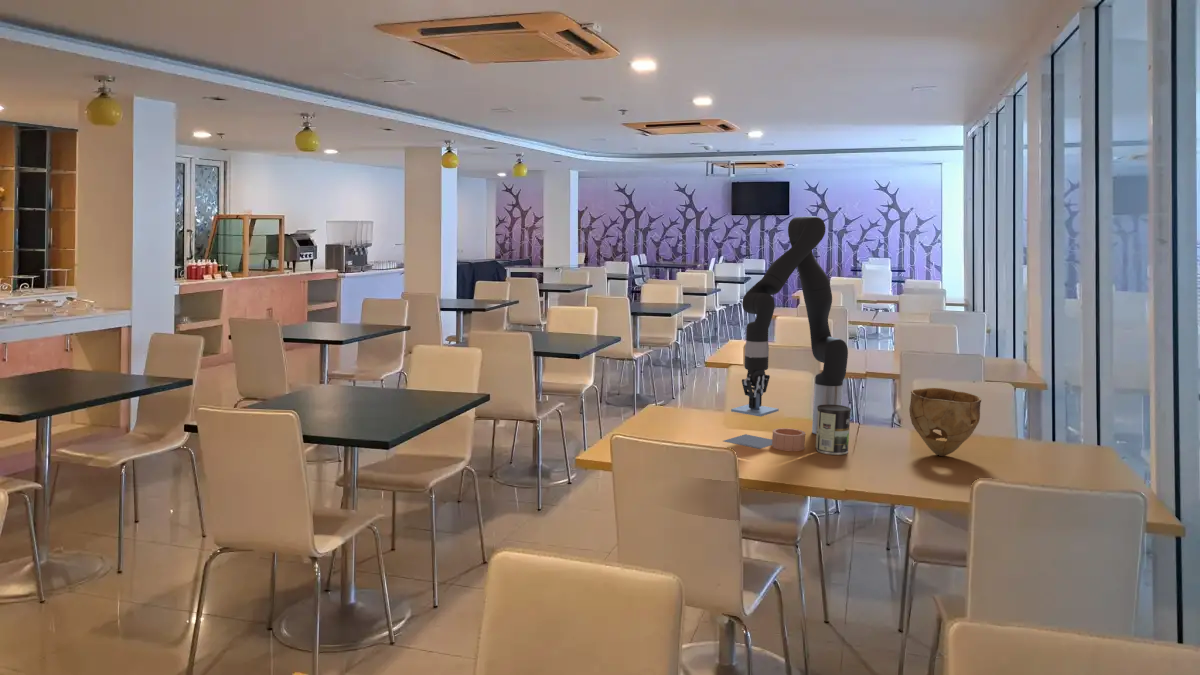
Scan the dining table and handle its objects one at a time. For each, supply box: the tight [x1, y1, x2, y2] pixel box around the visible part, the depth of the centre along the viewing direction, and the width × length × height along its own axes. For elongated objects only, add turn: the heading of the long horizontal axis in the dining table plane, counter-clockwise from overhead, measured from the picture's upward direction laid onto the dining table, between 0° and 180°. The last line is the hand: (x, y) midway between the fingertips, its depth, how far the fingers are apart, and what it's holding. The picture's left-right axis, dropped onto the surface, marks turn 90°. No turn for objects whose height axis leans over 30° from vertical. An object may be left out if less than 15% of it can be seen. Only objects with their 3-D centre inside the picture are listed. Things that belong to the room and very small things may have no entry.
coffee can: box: [815, 404, 852, 456], centre depth 295 cm, size 10×10×14 cm
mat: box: [723, 433, 772, 450], centre depth 303 cm, size 14×14×1 cm
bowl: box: [908, 387, 982, 457], centre depth 292 cm, size 21×20×20 cm
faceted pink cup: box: [771, 427, 806, 452], centre depth 296 cm, size 10×10×6 cm
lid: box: [730, 393, 780, 417], centre depth 301 cm, size 11×11×6 cm
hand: (755, 407), depth 301 cm, fingers closed on lid, 2 cm apart
